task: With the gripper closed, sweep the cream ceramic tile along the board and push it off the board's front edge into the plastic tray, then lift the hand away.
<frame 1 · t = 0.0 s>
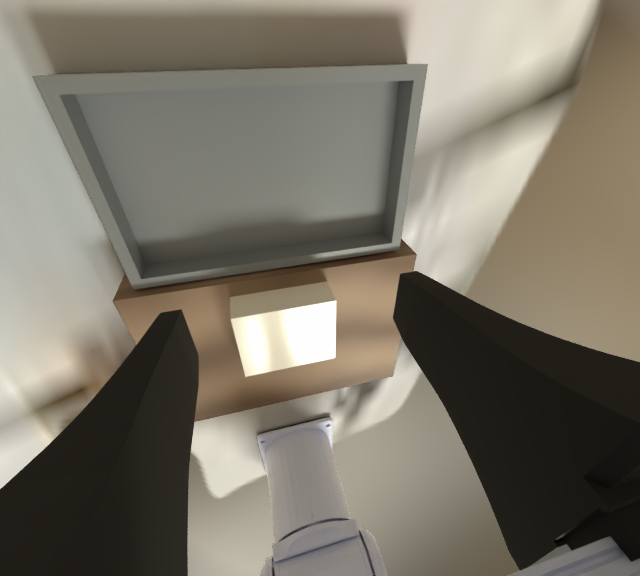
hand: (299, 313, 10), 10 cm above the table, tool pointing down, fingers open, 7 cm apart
board: (281, 324, 24), on the table
tray: (263, 175, 17), on the table
tile: (283, 319, 21), point 2 cm above the table, touching board
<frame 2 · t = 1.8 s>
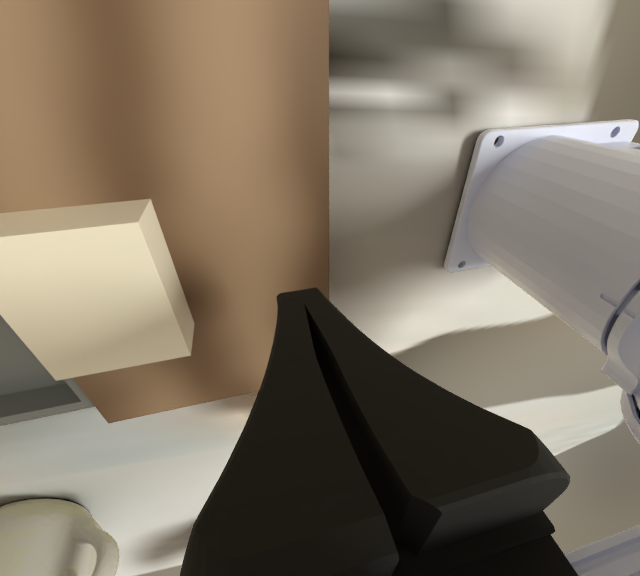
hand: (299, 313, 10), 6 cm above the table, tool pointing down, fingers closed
board: (187, 241, 15), on the table
teacup: (58, 506, 25), on the table
tile: (108, 279, 12), point 2 cm above the table, touching board
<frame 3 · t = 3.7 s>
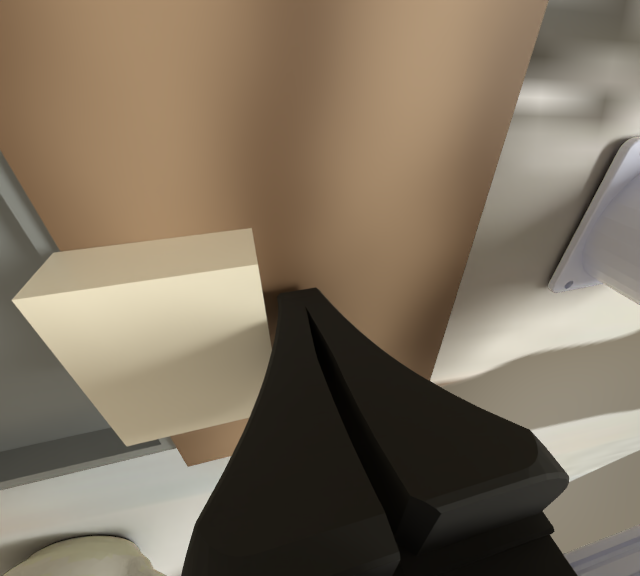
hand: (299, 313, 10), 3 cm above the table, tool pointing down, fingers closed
board: (292, 265, 13), on the table
teacup: (105, 541, 23), on the table
tile: (188, 321, 10), point 3 cm above the table
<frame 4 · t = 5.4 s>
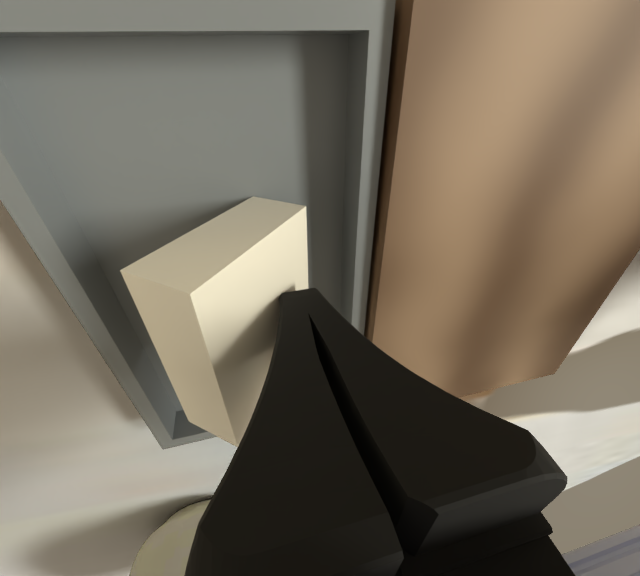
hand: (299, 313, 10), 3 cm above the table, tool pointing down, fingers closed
board: (482, 237, 15), on the table
tray: (236, 272, 13), on the table
teacup: (229, 505, 25), on the table
tile: (272, 326, 10), point 4 cm above the table, tilted 129°, touching gripper, tray
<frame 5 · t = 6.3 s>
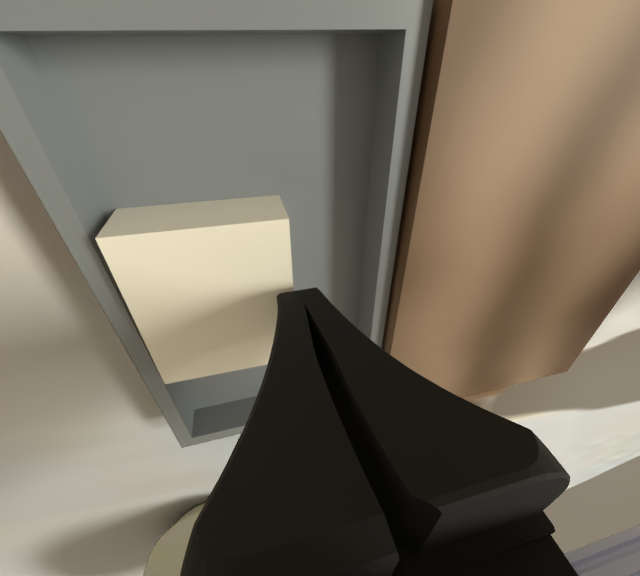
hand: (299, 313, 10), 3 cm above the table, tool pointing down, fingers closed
board: (500, 235, 15), on the table
tray: (258, 270, 13), on the table
teacup: (240, 504, 25), on the table
tile: (219, 311, 10), point 2 cm above the table, tilted 180°, touching tray
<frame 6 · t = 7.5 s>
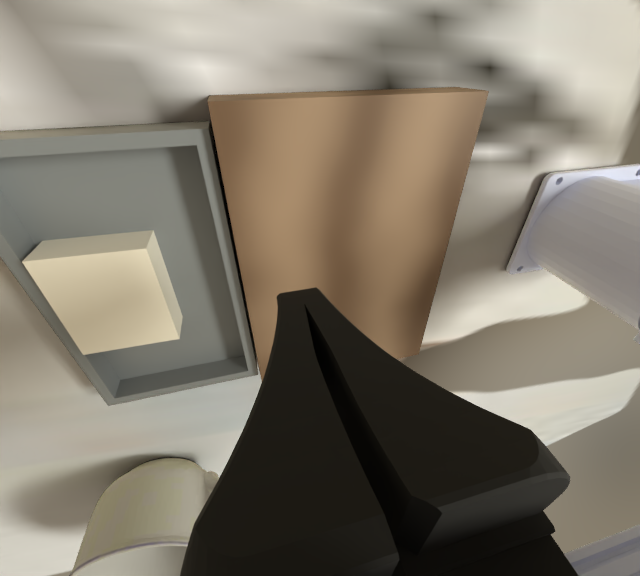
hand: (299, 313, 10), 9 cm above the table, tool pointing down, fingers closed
board: (338, 252, 20), on the table
tray: (153, 278, 18), on the table
teacup: (179, 466, 31), on the table
tile: (112, 305, 16), point 2 cm above the table, tilted 180°, touching tray
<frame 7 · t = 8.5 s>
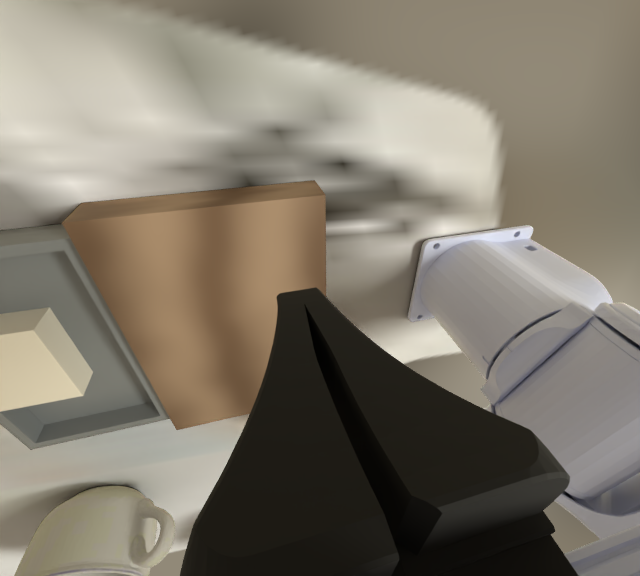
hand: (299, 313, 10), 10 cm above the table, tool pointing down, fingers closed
board: (234, 312, 23), on the table
tray: (60, 342, 21), on the table
teacup: (121, 491, 33), on the table
tile: (12, 374, 18), point 2 cm above the table, tilted 180°, touching tray
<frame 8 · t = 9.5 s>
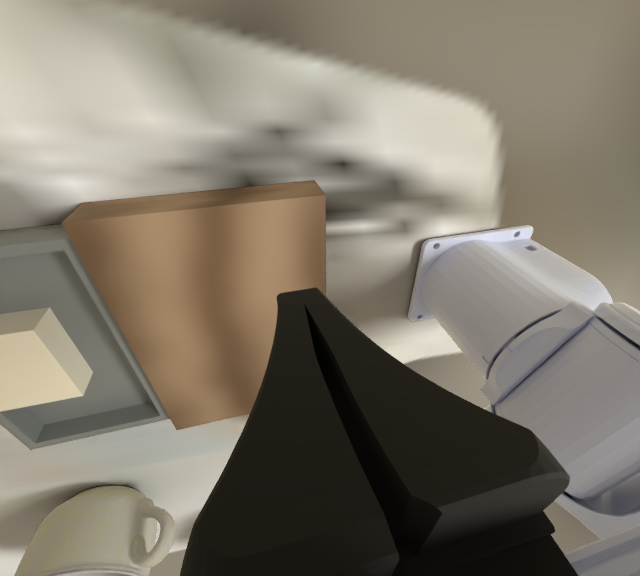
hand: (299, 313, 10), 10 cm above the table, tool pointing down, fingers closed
board: (234, 312, 23), on the table
tray: (60, 342, 21), on the table
teacup: (121, 491, 33), on the table
tile: (12, 374, 18), point 2 cm above the table, tilted 180°, touching tray
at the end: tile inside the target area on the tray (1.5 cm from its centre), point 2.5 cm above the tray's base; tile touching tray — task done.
